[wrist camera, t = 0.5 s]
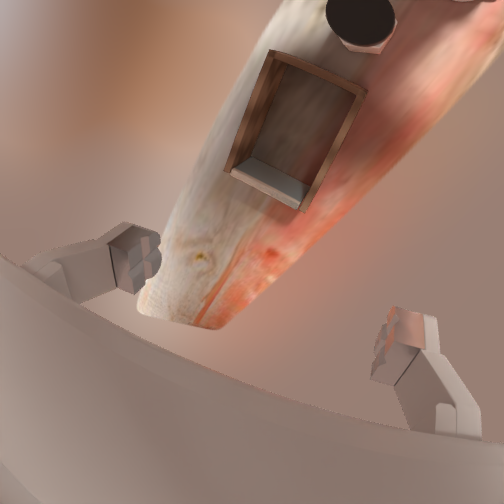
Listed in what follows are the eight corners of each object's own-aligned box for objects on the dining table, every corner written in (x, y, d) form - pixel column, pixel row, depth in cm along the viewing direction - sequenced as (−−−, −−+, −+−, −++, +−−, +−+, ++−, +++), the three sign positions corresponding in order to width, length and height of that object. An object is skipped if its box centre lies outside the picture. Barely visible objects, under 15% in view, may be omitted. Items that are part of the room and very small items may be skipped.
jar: (402, 45, 35) (410, 33, 26) (356, 63, 39) (349, 58, 30) (371, -4, 32) (369, -28, 23) (326, 16, 37) (310, -3, 27)
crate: (285, 53, 42) (269, 49, 36) (368, 91, 41) (366, 92, 35) (243, 157, 54) (223, 170, 48) (315, 194, 53) (304, 213, 47)
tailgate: (251, 156, 53) (232, 169, 47) (310, 186, 52) (299, 204, 46) (249, 161, 54) (229, 175, 48) (308, 192, 53) (296, 210, 47)
